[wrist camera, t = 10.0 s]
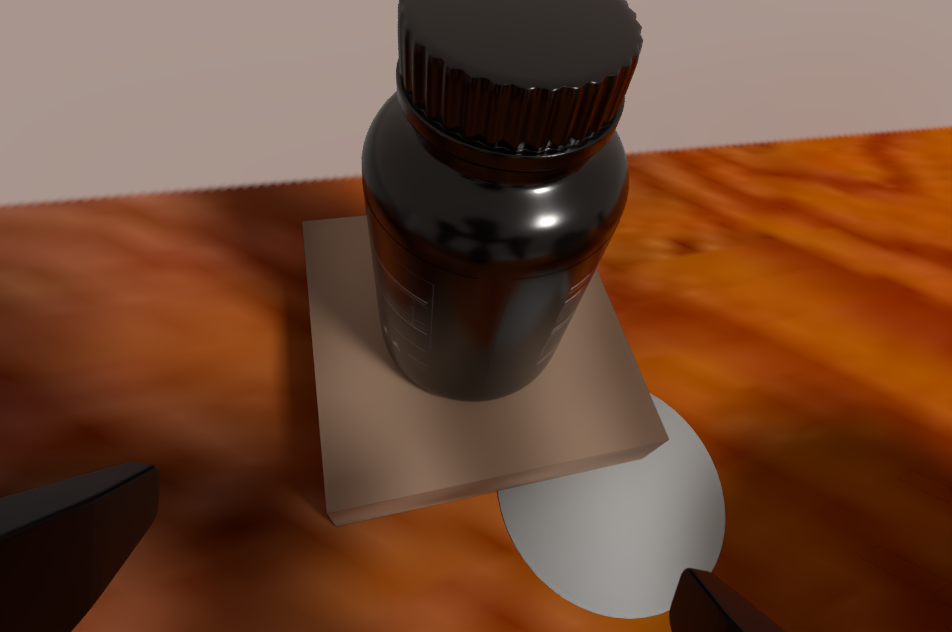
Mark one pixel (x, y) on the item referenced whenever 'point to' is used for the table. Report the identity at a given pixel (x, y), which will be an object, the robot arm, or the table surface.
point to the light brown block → (457, 422)
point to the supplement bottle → (495, 183)
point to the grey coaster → (623, 525)
